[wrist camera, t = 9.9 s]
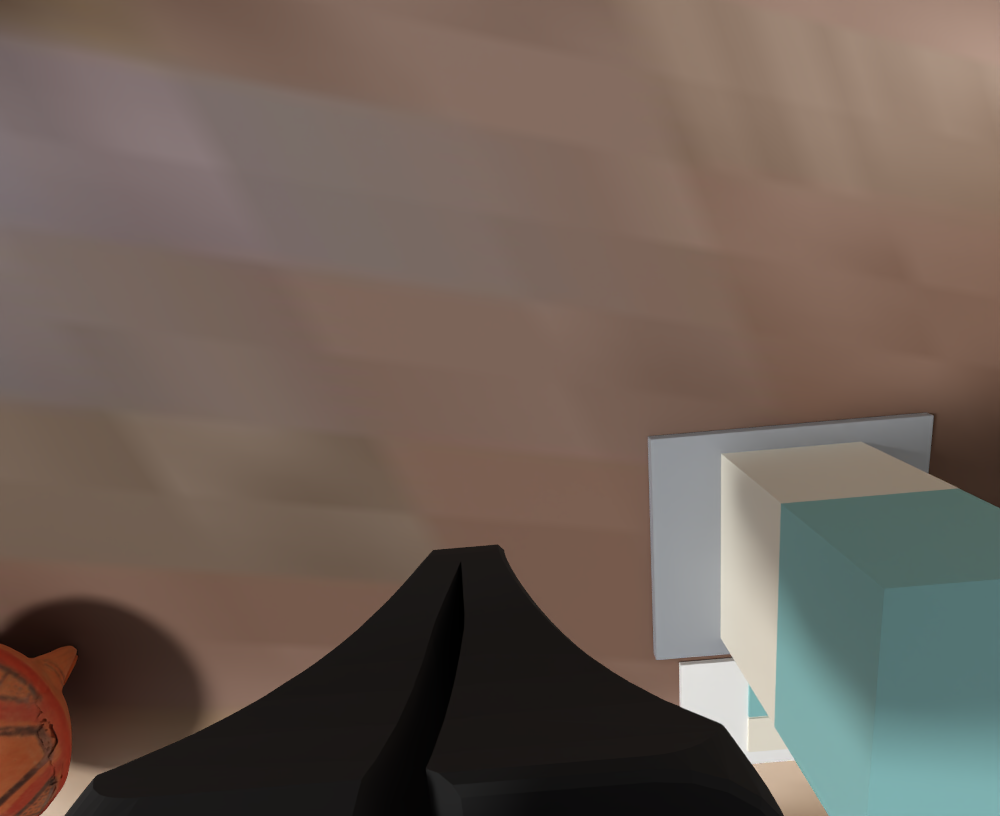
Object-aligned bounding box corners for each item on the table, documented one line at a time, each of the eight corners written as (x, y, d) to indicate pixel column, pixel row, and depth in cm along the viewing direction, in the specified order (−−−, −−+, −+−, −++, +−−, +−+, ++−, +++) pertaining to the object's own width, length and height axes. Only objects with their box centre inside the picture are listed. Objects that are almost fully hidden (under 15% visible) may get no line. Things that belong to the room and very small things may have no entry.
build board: (906, 632, 23) (913, 638, 23) (653, 653, 23) (656, 659, 23) (925, 412, 21) (933, 415, 21) (648, 436, 21) (650, 439, 21)
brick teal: (934, 713, 18) (1073, 853, 14) (774, 726, 18) (862, 871, 14) (958, 488, 17) (1126, 568, 12) (780, 503, 17) (884, 588, 12)
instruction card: (871, 749, 25) (876, 755, 24) (680, 765, 25) (682, 771, 24) (880, 645, 23) (885, 650, 23) (679, 662, 23) (681, 667, 23)
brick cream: (849, 626, 23) (935, 713, 18) (720, 637, 23) (774, 726, 18) (861, 441, 21) (959, 488, 17) (721, 453, 21) (781, 503, 17)
